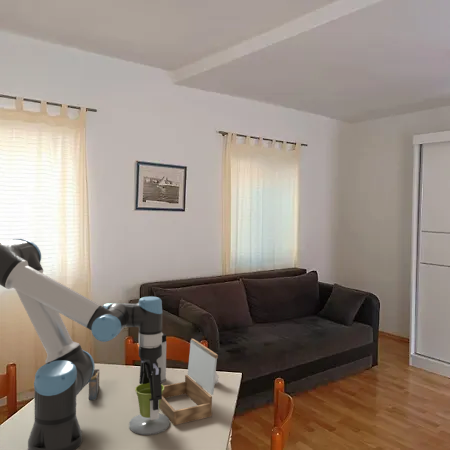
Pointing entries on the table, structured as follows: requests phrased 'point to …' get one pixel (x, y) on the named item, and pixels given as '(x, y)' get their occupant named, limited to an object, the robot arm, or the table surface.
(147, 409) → the plant pot
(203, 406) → the frame
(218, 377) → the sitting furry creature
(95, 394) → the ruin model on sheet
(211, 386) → the lid
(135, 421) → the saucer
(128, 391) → the table surface
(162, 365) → the travel mug
